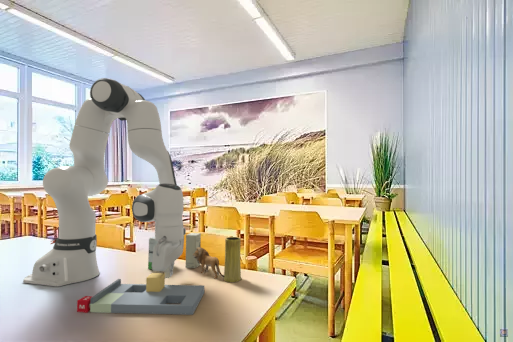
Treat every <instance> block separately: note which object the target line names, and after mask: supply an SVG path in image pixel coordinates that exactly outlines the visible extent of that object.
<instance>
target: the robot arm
mask: <svg viewBox="0 0 513 342" xmlns="http://www.w3.org/2000/svg"><path fill="white" fill-rule="evenodd" d="M89 97H90V98H88V99H86V100H85V101H84V102H83V103H82V105H81V107H80V109H79V111H78V114H77V116H76V118H75V123H74V126H73V130H72V133H71V138H70V141H69V149H70V151H71V152H72V155H73V165H62V166H57V167H54V168H51V169H49V170H48V171H47V172H46V173H45V174H44V176H43V179H42V186H43V189H44V191H45V192H46V194H48V195H49V197H51V198H52V200H53V202H54V204H55V207H56V209H57V215H58V237H56V238H55V239H53V240H50V245H53V244H54V245H53V247H52V249H50V250H49V251H48V252H46V253H45V254H44V255H42V257H40V258H38V259H37V260H36V261H35V263H34V265H33V268H32V273H30V274H29V275H27V276H26V277H24V278H23V281H22V283H23V284H25V283H26V284H32V285H33V284H34V285H42V286H51V287H61V286H66V285H69V284H76V283H79V282H80V283H81V282H84V281H88V280H91V279H93V278H95V277H97V276H99V275H100V270H99V266H98V261H97V260H98V259H97V253H96V252H97V251H96V250H97V246H98V245H97V244H98V240H97V239H98V238H97V234H96V224H97V223H96V219H97V218H96V217H97V215H96V212H95V211H94V210H93V209H92V207H91V204H90V201H89V197H93V196H95V195H98V194H100V193H102V192H103V191H105V190H106V188H107V186H108V185H109V179H108V176H107V174H106V171H105V155H106V154H105V153H106V149H107V144H108V142H109V141H108V140H109V138H110V137H109V136H110V134H111V133H110V132H111V127H112V124H113V122H114V121H115V120H117V119H118V120H120V121H126V125H127V126H126V128H127V143H128V146H129V149H130V151H132V153H133V154H134V155H136V156H137V157H138V158H140V159H141V160H144V161H145V162H148V164H150V165H152V166H153V167H154V168H155V170H156V172H157V177H158V182H159V184H158V185H156V187H155V188H154V189H152V190H150V191H148V192H144V193H142V194H139V195H137V196H136V197H135V198H134V200H133V201H132V204H131V213H132V215H133V218H135V220H137V221H138V222H140V223H150V222H154V237H155V240H156V241H158V244H156V245H155V246H154V249H153V257H152V269H151V270H152V272H153V273H165V279H170V278H171V277H172V276H173V275H174V267H175V262H176V261H177V260H178V259H179V258H180V257H181V256H182V255H183V252H184V246H185V245H184V244H185V236H186V235H187V234H186V233H187V232H186V230H187V229H186V228H185V227H184V220H183V214H184V194H183V190H182V188H181V187H180V186H179V185H177V180H176V176H175V170H174V165H173V161H172V156H171V154H170V152H169V150H167V147H166V146H165V143H164V139H163V131H162V124H161V119H160V118H161V117H160V114H159V110H158V107H157V105H156V104H155V103H153V102H152V101H149V100H146V99H145V98H144V97H143V95H142V94H140V93H139V92H137V91H135V90H134V89H133V88H132V87H130V86H128V85H125V84H122V83H120V82H119V81H117V80H116V79H112V78H108V77H101V78H98V79H97V80H95V81H94V82H93V84H92V85H91V87H90V91H89Z"/></svg>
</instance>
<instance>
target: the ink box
mask: <svg viewBox="0 0 513 342" xmlns="http://www.w3.org/2000/svg"><path fill="white" fill-rule="evenodd" d="M156 244H158V241H156V240H155V236H152V237H149V238H148V259H147V260H148V261H147V263H148V264H147V265H148V266H147V268H148V269H147V270H152V257H153V249H154V246H155V245H156Z"/></svg>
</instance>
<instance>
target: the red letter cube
mask: <svg viewBox="0 0 513 342" xmlns="http://www.w3.org/2000/svg"><path fill="white" fill-rule="evenodd" d="M93 296H94V295H90V296H89V295H85V296H82V297H81V298H79V299H77V300H76V304H77V305H76V312H77V313H85V314H88V313H89V312H90V301H91V297H93Z"/></svg>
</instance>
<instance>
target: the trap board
mask: <svg viewBox="0 0 513 342" xmlns="http://www.w3.org/2000/svg"><path fill="white" fill-rule="evenodd" d="M204 295H205V285H199V284H197V285H196V284H195V285H194V284H193V285H191V284H165V287H164V288H163V289H162V290H161V291H160V292H146V283H145V284H144V283H122V280H121V278H117V279H116V280H114V281H113V282H112V283H110V284H108V285H107V286H106V287H104V288H102V289H101V290H99V291H98V292H97V293H95V294H94V295H92V296H93V297H91V301H90V311H89V312H90V313H100V314H101V313H103V314H104V313H106V314H107V313H109V314H113V313H114V314H148V315H149V314H150V315H151V314H153V315H187V316H189V315H191V316H194V314H195V311H196V310H197V308H198V306H199V304H200V301H201V300H202V298H203V296H204Z"/></svg>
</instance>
